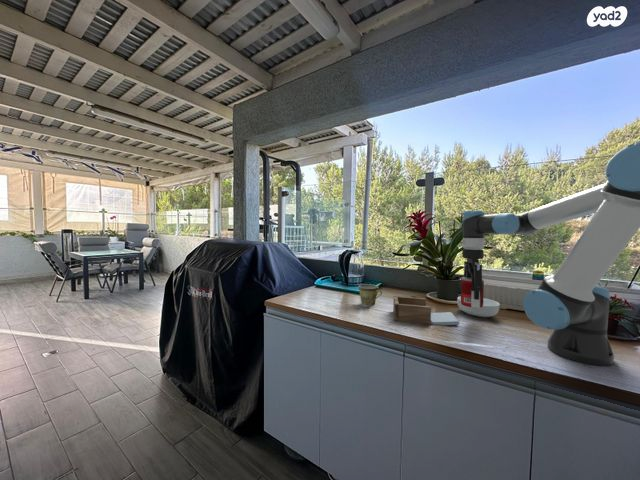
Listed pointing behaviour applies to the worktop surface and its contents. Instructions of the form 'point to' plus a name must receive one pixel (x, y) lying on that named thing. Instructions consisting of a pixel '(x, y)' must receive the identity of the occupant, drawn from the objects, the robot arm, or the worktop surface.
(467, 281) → the canned food
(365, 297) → the ceramic cup
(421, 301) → the crate
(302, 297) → the worktop surface
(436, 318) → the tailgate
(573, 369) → the worktop surface
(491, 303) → the cereal bowl
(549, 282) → the robot arm
